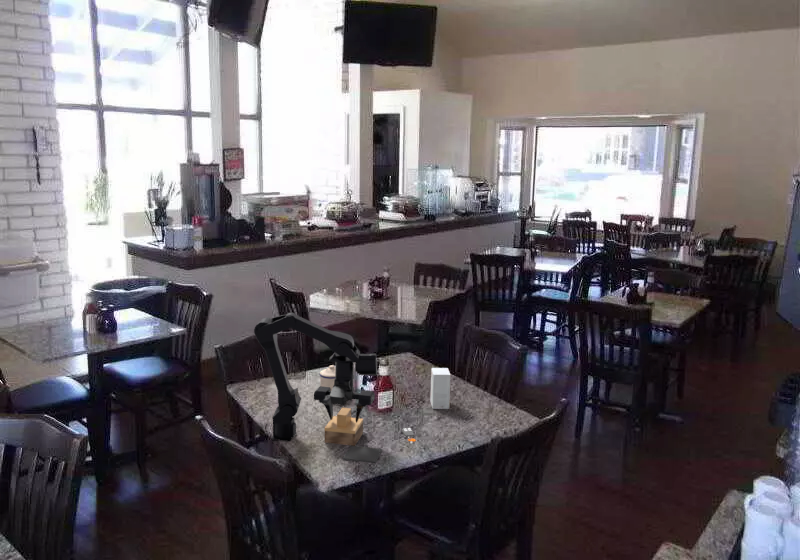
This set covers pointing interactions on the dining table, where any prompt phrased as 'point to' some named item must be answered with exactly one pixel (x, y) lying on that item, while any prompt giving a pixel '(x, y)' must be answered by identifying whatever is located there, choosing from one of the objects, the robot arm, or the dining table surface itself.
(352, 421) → the lid
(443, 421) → the dining table surface
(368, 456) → the rubber mat
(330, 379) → the teacup with lid
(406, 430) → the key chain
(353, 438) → the walnut box
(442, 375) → the small box
